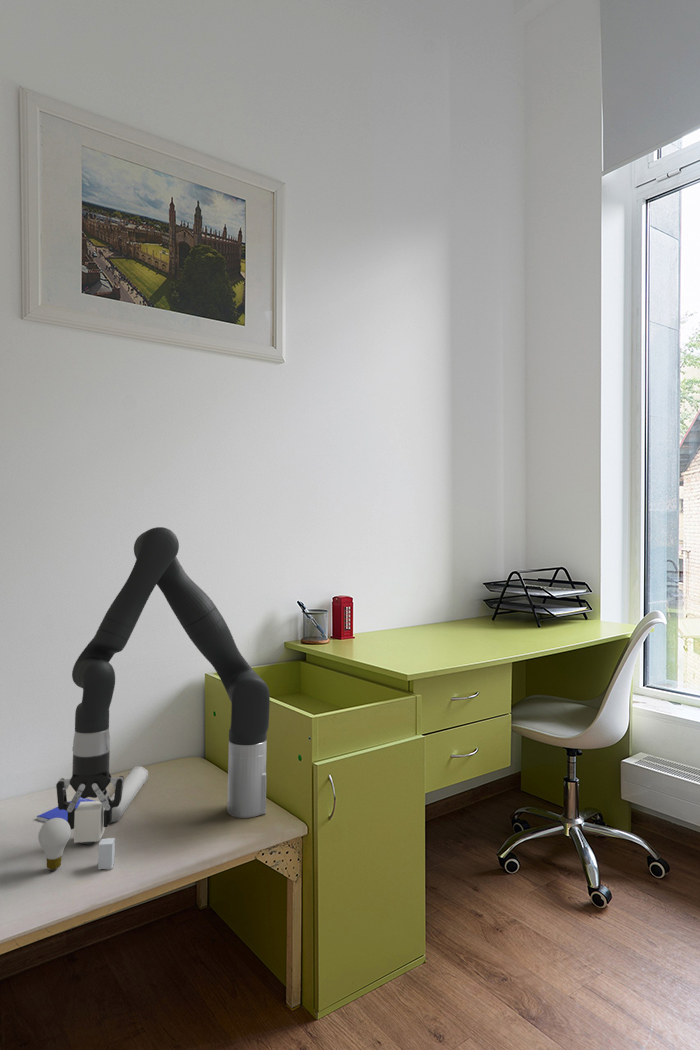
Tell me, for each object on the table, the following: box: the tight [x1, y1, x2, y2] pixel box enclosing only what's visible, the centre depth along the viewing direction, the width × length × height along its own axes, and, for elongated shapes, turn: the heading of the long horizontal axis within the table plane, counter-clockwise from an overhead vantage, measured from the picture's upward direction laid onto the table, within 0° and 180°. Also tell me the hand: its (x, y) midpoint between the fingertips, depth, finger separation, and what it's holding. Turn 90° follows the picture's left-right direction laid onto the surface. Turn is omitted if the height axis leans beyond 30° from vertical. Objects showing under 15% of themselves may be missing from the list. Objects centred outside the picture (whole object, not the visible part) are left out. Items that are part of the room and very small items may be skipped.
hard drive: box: [36, 797, 95, 823], centre depth 156 cm, size 2×8×12 cm
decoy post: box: [97, 837, 116, 870], centre depth 131 cm, size 3×3×5 cm
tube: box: [110, 766, 149, 823], centre depth 163 cm, size 5×5×25 cm
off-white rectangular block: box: [73, 800, 106, 844], centre depth 142 cm, size 5×5×7 cm
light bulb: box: [37, 818, 72, 871], centre depth 129 cm, size 6×6×10 cm
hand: (89, 826), depth 142 cm, fingers open, 6 cm apart
